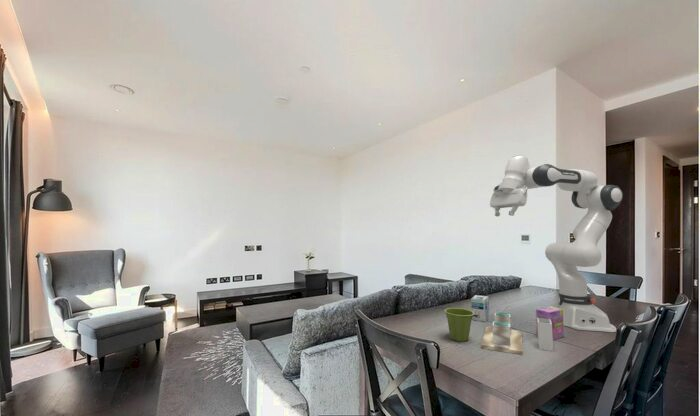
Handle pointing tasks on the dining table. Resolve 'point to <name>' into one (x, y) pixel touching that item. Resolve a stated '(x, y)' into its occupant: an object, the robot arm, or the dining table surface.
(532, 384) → the dining table surface
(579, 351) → the dining table surface
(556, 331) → the box
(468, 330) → the plant pot
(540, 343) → the block
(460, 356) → the dining table surface
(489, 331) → the board
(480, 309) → the light bulb box
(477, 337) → the dining table surface
